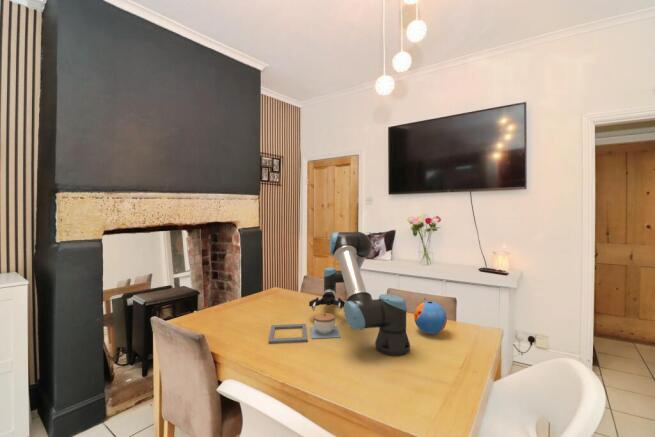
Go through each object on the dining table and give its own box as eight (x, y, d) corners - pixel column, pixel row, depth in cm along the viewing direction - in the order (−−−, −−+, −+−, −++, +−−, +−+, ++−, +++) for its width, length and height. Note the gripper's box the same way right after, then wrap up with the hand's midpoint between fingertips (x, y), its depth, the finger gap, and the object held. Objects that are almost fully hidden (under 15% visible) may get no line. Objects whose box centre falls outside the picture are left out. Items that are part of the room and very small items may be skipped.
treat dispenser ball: (449, 340, 149) (449, 308, 148) (415, 337, 152) (415, 306, 151) (443, 328, 164) (444, 298, 164) (413, 325, 167) (413, 297, 167)
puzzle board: (307, 342, 148) (307, 339, 148) (268, 343, 146) (268, 341, 146) (306, 325, 167) (306, 323, 167) (271, 327, 166) (271, 325, 165)
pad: (340, 337, 152) (340, 336, 152) (311, 339, 151) (311, 338, 151) (336, 326, 166) (336, 325, 166) (310, 327, 165) (310, 327, 165)
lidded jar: (336, 327, 163) (336, 309, 163) (334, 336, 153) (334, 317, 152) (315, 327, 164) (315, 309, 164) (312, 335, 154) (312, 316, 153)
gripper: (349, 304, 188) (350, 316, 167) (308, 303, 190) (303, 315, 169) (349, 291, 188) (350, 302, 167) (308, 290, 190) (302, 301, 169)
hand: (326, 308), depth 168 cm, fingers open, 13 cm apart
